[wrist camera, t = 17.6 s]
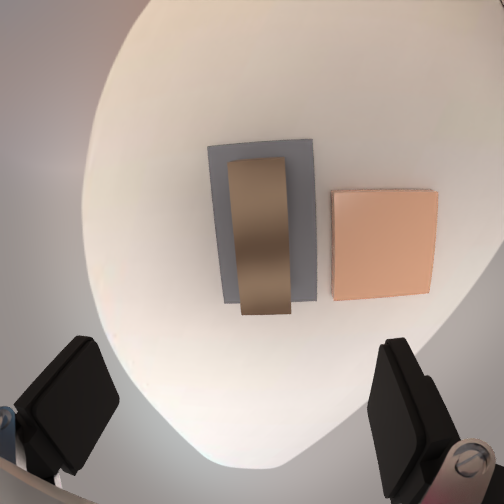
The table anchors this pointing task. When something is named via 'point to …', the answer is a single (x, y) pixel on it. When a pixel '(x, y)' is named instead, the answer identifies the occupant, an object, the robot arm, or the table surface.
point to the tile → (382, 242)
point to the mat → (298, 206)
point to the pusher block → (261, 234)
